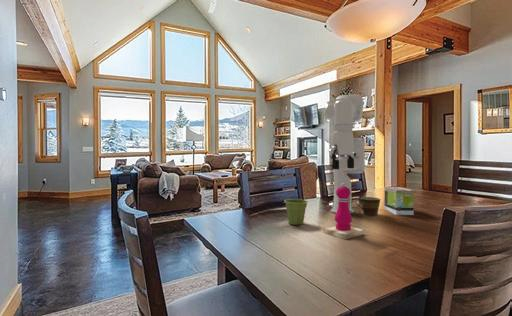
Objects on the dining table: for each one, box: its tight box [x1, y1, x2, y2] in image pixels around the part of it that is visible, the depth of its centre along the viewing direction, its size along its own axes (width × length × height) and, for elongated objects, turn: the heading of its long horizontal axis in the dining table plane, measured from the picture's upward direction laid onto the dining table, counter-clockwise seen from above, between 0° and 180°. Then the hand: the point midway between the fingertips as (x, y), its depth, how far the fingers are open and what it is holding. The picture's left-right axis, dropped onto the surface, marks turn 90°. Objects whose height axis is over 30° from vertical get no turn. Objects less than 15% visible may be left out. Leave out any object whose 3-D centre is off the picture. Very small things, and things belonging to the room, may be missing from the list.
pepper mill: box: [334, 183, 353, 231], centre depth 123 cm, size 7×7×20 cm
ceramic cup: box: [354, 196, 381, 217], centre depth 155 cm, size 13×10×10 cm
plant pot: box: [284, 198, 309, 226], centre depth 141 cm, size 12×12×11 cm
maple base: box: [322, 224, 365, 240], centre depth 123 cm, size 12×12×2 cm
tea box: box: [384, 186, 415, 216], centre depth 161 cm, size 15×10×15 cm, turn 179°
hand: (343, 168), depth 123 cm, fingers open, 9 cm apart
